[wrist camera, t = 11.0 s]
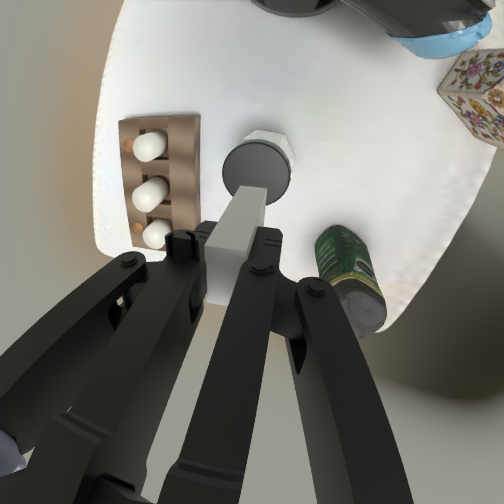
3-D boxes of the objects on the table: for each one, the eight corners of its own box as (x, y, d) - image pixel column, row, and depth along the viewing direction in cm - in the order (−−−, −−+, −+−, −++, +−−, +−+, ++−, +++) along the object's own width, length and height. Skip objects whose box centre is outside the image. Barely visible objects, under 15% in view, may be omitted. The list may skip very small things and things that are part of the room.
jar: (268, 190, 44) (259, 222, 34) (229, 160, 42) (207, 182, 32) (304, 151, 40) (307, 170, 30) (263, 118, 38) (251, 125, 28)
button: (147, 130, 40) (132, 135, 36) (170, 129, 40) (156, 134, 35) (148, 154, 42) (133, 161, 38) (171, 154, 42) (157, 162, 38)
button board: (127, 118, 40) (117, 121, 37) (200, 115, 39) (193, 116, 36) (139, 239, 54) (132, 246, 51) (201, 247, 52) (196, 256, 50)
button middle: (145, 176, 43) (130, 186, 39) (167, 177, 43) (154, 187, 38) (147, 199, 45) (133, 211, 41) (169, 201, 45) (156, 213, 41)
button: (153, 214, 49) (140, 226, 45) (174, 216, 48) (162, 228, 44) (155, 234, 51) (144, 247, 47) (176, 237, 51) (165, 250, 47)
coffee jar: (307, 248, 49) (308, 324, 33) (335, 217, 45) (352, 287, 29) (345, 275, 51) (357, 351, 35) (373, 248, 46) (399, 321, 31)
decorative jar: (474, 139, 31) (540, 171, 16) (434, 92, 30) (502, 99, 15) (500, 98, 25) (566, 115, 10) (462, 49, 23) (529, 44, 8)
